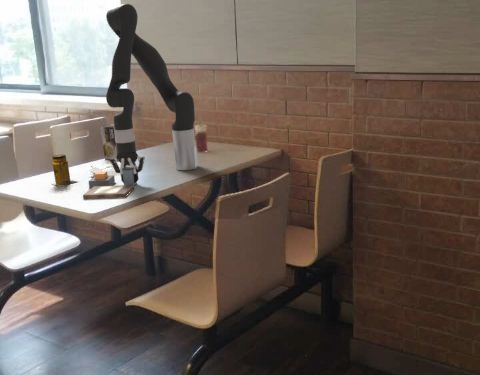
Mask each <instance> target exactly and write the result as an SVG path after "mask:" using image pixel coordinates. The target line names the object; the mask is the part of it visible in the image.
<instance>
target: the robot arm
mask: <svg viewBox="0 0 480 375" xmlns="http://www.w3.org/2000/svg"><path fill="white" fill-rule="evenodd" d="M105 16H106V22H107V24H108V26H109V27H110V30H111V31H112V32H114V34H115V35H116V36H117V37H118V38H119V39H118V42H117V45H116V48H115V51H114V54H113V56H112V63H111V77H110V82H109V84H108V87H107V91H106V94H105V95H106V97H105V100H106V103H107V105H108V106H109V107H110V108H113V109H114V108H115V109H116V108H123V110H122V112H120V113H116V114H114V115H113V125H114V127H115V141H116V149H117V156H116V157H115V158H112V159H109V160H110V163H111V165H113V168H114V170H115V172H116V173H120V174H121V175H120V179H121V183H123V184H124V179H123V171H122V169H123V168H125V167H126V166H127V165H128V166H131V168H133V173H134V174H133V175H134V182H135V183H137V184H138V181H139V180H140V179H139V173H140V172H141V171H143V167H144V164H145V159H146V158H145V156H139V154H138V153H137V145H136V144H137V143H136V137H135V131H134V124H133V110H134V104H135V95H134V94H135V93H133V91H132V90H131V89H130V88H121V87H122V86H123V85H126V84H128V83H130V81H131V67H132V66H131V64H132V56H133V58H134V59H135V60H136V62H137V64H138V65H139V66H140V68H141V70H142V71H143V72H144V73H145V75H146V76H147V77H148V78H149V80H150V82H151V83H152V84H153V86H154V87H155V88H156V90H157V91H158V93H159V94H160V95H159V96H161V99H162V100H163V102H164V105H165V106H166V107H167V109H168V110H170V111H171V112H172V113H175V120H174V122H172V123H171V130H172V142H173V144H172V145H173V152H174V163H175V165H174V166H175V169H176V170H178V171H190V170H196V169H197V168H198V166H199V165H198V153H197V151H198V150H197V145H196V143H195V142H196V141H195V140H196V139H195V128H194V124H195V120H196V119H195V117H196V115H195V114H196V113H195V102H194V98H193V96H192V94H191V93H189V92H187V91H181V90H178V89H177V87H176V85H175V84H174V83H173V82H172V80H171V78H170V76H169V72H168V68H167V63H166V62H165V60H164V58H163V57H162V55H161V54H160V52H159V51H158V50H157V49H156V48H155V47H154V46H153V45H151V44H150V43H149V42H147V41H146V40H144V39H143V38H141V37H140V35H138V34H137V33H136V31H137V26H138V11H137V10H136V8H135V6H133V5H132V4H130V3H122V4H119V5H117V6H114V7H111V8H110V9H108V10H107V11H106V14H105ZM137 161H138V167H137V163H136V162H137ZM117 162H120V163H121V167H120V168H121V169H120V168H119V166H118V164H117Z"/></svg>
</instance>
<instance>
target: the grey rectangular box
mask: <svg viewBox="0 0 480 375" xmlns="http://www.w3.org/2000/svg"><path fill="white" fill-rule="evenodd" d="M122 171H123V179H124V183H123V185H133V186H134V185H135V184H136V185H137V184H138V182H137V183H135V182H134V175H133V174H134V173H133V168H131V166H126V167H125V168H123V169H122ZM136 185H135V186H136ZM135 186H134V187H135Z"/></svg>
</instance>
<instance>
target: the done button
mask: <svg viewBox="0 0 480 375" xmlns="http://www.w3.org/2000/svg"><path fill="white" fill-rule="evenodd" d="M104 171H105V170H104ZM93 177H95V180H103V179H106V178H108V174H107V171H105V172H97V173H94V174H93Z"/></svg>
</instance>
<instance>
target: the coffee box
mask: <svg viewBox="0 0 480 375" xmlns="http://www.w3.org/2000/svg"><path fill="white" fill-rule="evenodd" d="M100 134H101V141H102V147H103V154H104V156H103V157H104V159H105V160H111V159H112V158H115V157H116V156H117V149H116V141H115V127H114V124H107V125H103V126H100Z"/></svg>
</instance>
